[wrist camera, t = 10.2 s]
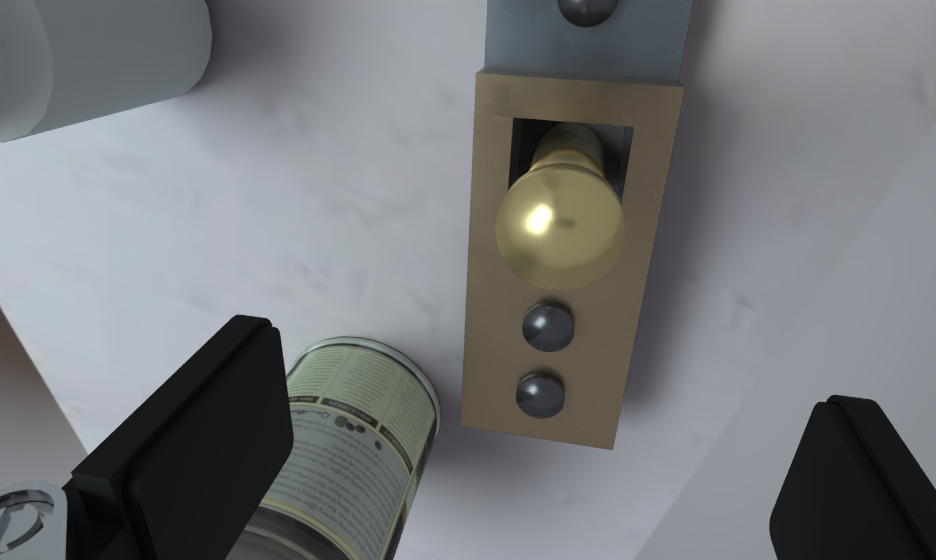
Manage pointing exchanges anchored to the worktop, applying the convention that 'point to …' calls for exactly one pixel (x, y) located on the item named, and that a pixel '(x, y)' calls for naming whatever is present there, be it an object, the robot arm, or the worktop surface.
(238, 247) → the worktop surface
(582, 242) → the pin
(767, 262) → the worktop surface
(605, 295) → the peg hole board
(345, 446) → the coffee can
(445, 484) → the worktop surface
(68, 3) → the can
